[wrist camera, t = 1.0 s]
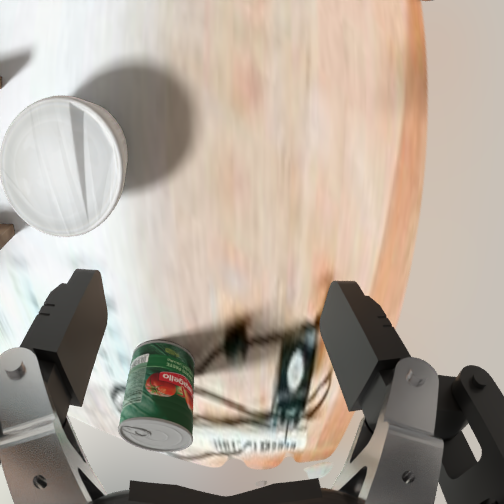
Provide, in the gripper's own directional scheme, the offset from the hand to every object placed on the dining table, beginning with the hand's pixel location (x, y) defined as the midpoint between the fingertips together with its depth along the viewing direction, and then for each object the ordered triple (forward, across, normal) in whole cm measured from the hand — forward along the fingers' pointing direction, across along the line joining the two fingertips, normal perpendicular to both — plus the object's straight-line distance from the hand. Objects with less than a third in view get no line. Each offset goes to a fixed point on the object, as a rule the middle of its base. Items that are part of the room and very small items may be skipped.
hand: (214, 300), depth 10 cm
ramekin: (+19, +12, 0) cm, 22 cm away
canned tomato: (+19, +5, +25) cm, 31 cm away
